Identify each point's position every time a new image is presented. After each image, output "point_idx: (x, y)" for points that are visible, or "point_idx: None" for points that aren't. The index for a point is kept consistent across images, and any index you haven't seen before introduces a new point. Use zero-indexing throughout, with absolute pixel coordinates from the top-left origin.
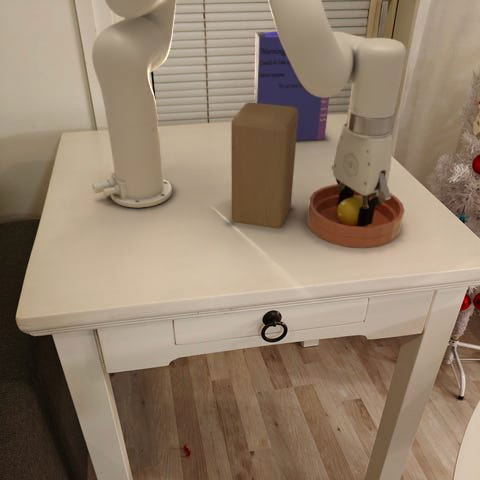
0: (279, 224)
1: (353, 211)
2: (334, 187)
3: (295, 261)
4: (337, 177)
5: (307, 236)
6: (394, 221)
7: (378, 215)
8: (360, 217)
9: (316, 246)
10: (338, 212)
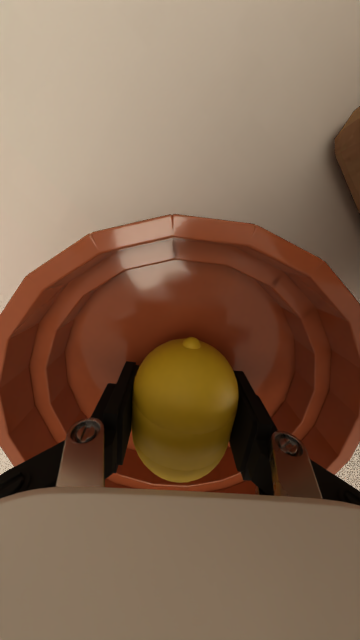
0: (350, 120)
1: (146, 384)
2: (334, 450)
3: (114, 4)
4: (355, 525)
5: (224, 210)
6: (4, 445)
7: None
8: (117, 383)
9: (156, 188)
10: (206, 350)
